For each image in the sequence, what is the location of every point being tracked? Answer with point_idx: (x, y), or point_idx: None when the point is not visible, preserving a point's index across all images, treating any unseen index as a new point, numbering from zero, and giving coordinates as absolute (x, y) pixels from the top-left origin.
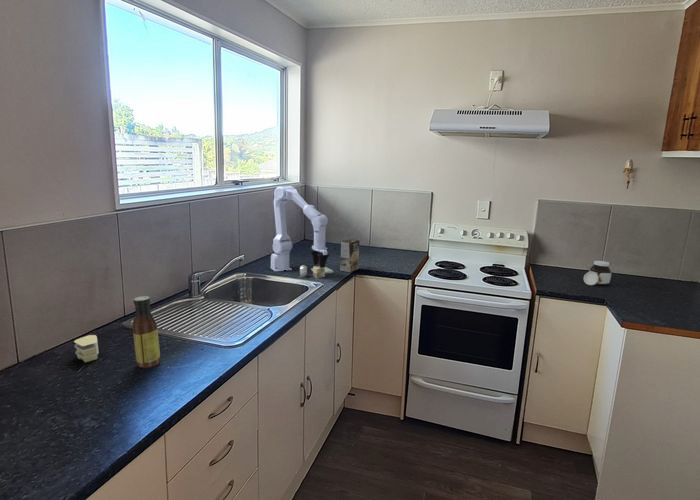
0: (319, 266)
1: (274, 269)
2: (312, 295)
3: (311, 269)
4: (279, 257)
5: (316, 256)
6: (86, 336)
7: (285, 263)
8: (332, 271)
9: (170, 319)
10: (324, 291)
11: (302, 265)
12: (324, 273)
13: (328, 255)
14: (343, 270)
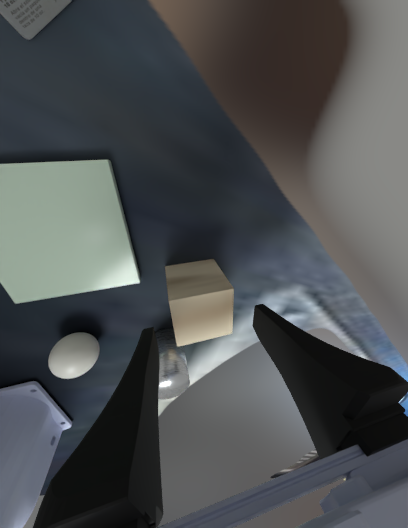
0: (181, 313)
1: (60, 434)
2: (356, 330)
3: (29, 299)
4: (11, 516)
5: (150, 408)
6: (344, 479)
7: (26, 445)
8: (110, 170)
9: (307, 453)
10: (356, 298)
11: (64, 377)
12: (221, 271)
13: (401, 379)
14: (59, 5)
